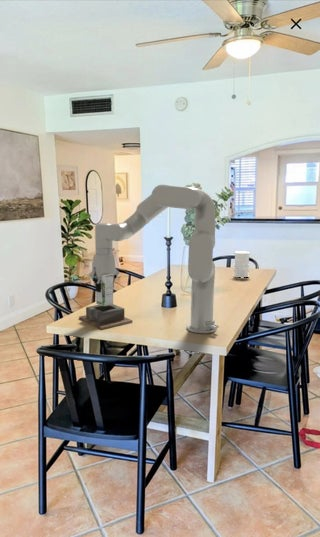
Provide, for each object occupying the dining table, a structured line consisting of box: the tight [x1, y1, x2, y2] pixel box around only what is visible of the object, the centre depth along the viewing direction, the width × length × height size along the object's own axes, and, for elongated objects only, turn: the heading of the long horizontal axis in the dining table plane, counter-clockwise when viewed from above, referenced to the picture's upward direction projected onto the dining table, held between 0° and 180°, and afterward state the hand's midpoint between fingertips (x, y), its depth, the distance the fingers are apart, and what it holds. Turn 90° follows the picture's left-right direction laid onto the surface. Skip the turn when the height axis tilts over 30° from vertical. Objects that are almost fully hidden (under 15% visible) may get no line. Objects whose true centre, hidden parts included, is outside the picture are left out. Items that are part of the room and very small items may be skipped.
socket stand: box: [78, 303, 133, 330], centre depth 178 cm, size 20×16×6 cm
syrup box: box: [95, 274, 114, 306], centre depth 176 cm, size 6×6×14 cm
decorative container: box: [232, 250, 251, 278], centre depth 279 cm, size 12×12×18 cm
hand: (104, 290), depth 176 cm, fingers closed on syrup box, 6 cm apart
